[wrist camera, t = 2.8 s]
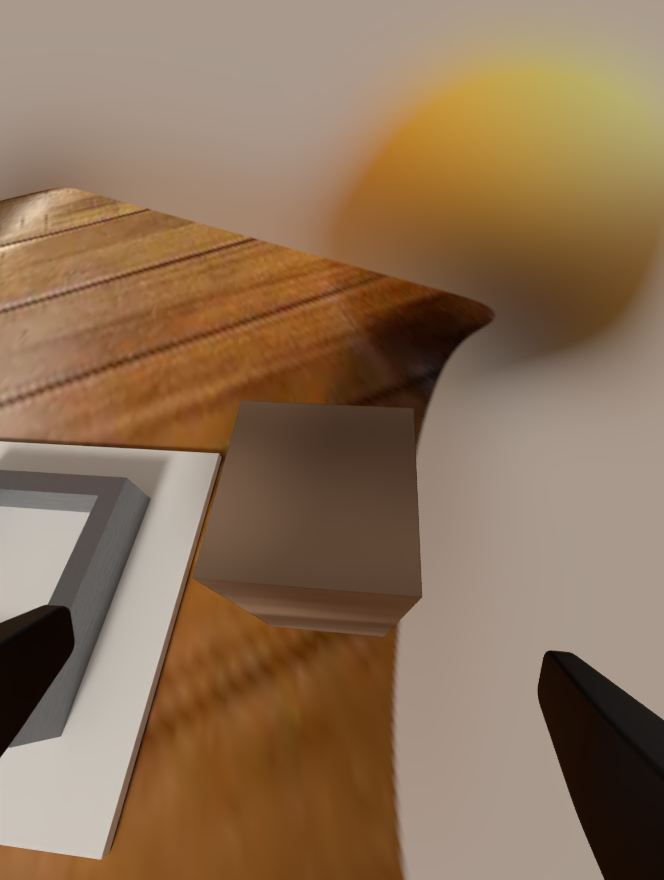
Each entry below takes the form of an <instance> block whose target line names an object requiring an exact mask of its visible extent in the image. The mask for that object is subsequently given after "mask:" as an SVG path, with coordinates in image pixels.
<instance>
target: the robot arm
mask: <svg viewBox="0 0 664 880" xmlns="http://www.w3.org/2000/svg"><path fill="white" fill-rule="evenodd" d="M74 646H75V636H74V629H73V622H72V616H71V611H70V609H69V608H68V607H66V606H63V605H52V604H47V605H43V606H40V607H38V608H35V609H33V610H30V611H28V612H25V613H23V614H21V615H18V616H16V617H13V618H11V619H8V620H6V621H3V622H1V623H0V758H1V756H2V755H3V754H4V752H5V751H6V750H7V748H8V747H9V746H10V744H11V743H12V742H13V740H14V739H15V737H16V736H17V734H18V733H19V732H20V730H21V729H22V727H23V726H24V724H25V723H26V721H27V720H28V718H29V717H30V715H31V714H32V712H33V711H34V709H35V708H36V706H37V705H38V703H39V702H40V701H41V699H42V698H43V696H44V695H45V693H46V692H47V690H48V689H49V687H50V686H51V684H52V683H53V681H54V680H55V678H56V677H57V675H58V674H59V672H60V671H61V669H62V668H63V666H64V665H65V663H66V662H67V660H68V659H69V657H70V656H71V654H72V652H73V649H74ZM538 699H539V703H540V707H541V710H542V713H543V716H544V718H545V722H546V724H547V727H548V730H549V733H550V736H551V739H552V742H553V745H554V748H555V751H556V754H557V757H558V760H559V763H560V766H561V769H562V772H563V775H564V778H565V781H566V784H567V787H568V790H569V793H570V796H571V799H572V802H573V804H574V807H575V810H576V813H577V815H578V818H579V820H580V823H581V825H582V828H583V830H584V832H585V835H586V837H587V840H588V842H589V844H590V847H591V849H592V851H593V854H594V856H595V858H596V861H597V863H598V866H599V868H600V870H601V873H602V875H603V877H604V880H664V720H663V719H662V718H660V717H659V716H657V715H656V714H655V713H653V712H652V711H651V710H649V709H648V708H647V707H645V706H644V705H643V704H641V703H640V702H638V701H637V700H636V699H634V698H633V697H632V696H630V695H629V694H628V693H626V692H625V691H624V690H622V689H621V688H619V687H618V686H617V685H615V684H614V683H613V682H611V681H610V680H609V679H607V678H606V677H605V676H603V675H602V674H600V673H599V672H598V671H596V670H595V669H594V668H592V667H591V666H590V665H588V664H587V663H585V662H584V661H583V660H581V659H580V658H579V657H577V656H576V655H574V654H573V653H570V652H562V651H547V652H546V653H545V655H544V657H543V662H542V667H541V673H540V678H539V683H538Z"/></svg>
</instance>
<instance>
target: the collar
mask: <svg viewBox="0 0 664 880" xmlns="http://www.w3.org/2000/svg"><path fill="white" fill-rule="evenodd" d="M150 500H151V498H150V497H148V496H147V495H146V494H145V493H144V492H143V491H142V490H140V489H139V488H138V487H137V486H136V485H135V484H134V483H132V482H131V481H130V480H129V479H128V478H125V477H109V476H93V475H77V474H60V473H44V472H28V471H12V470H0V506H3V507H17V508H31V509H46V510H60V511H74V512H89V513H90V514H89V517H88V519H87V521H86V523H85V525H84V527H83V529H82V532H81V534H80V536H79V538H78V540H77V542H76V545H75V547H74V549H73V551H72V553H71V555H70V557H69V560H68V562H67V564H66V566H65V568H64V570H63V573H62V575H61V577H60V579H59V581H58V583H57V585H56V588H55V590H54V592H53V594H52V596H51V598H50V601H49V603H48V604H52V605H63V606H66V607H68V608H69V609H70V611H71V616H72V622H73V629H74V636H75V646H74V649H73V652H72V654H71V656H70V657H69V659H68V660H67V662H66V663H65V665H64V666H63V668H62V669H61V671H60V672H59V674H58V675H57V677H56V678H55V680H54V681H53V683H52V684H51V686H50V687H49V689H48V690H47V692H46V693H45V695H44V696H43V698H42V699H41V701H40V702H39V703H38V705H37V706H36V708H35V709H34V711H33V712H32V714H31V715H30V717H29V718H28V720H27V721H26V723H25V724H24V726H23V727H22V729H21V730H20V732H19V733H18V734H17V736H16V737H15V739H14V740H13V742H12V743H11V744H10V746H9V748H12V747H16V746H21V745H25V744H30V743H34V742H39V741H43V740H48V739H52V738H57V737H61V735H62V732H63V729H64V727H65V724H66V722H67V719H68V716H69V714H70V711H71V708H72V706H73V703H74V700H75V698H76V695H77V692H78V690H79V687H80V685H81V682H82V679H83V677H84V674H85V671H86V669H87V666H88V663H89V661H90V658H91V655H92V653H93V650H94V648H95V645H96V642H97V640H98V637H99V634H100V632H101V629H102V626H103V624H104V621H105V618H106V616H107V613H108V611H109V608H110V605H111V603H112V600H113V597H114V595H115V592H116V589H117V587H118V584H119V581H120V579H121V576H122V574H123V571H124V568H125V566H126V563H127V560H128V558H129V555H130V552H131V550H132V547H133V544H134V542H135V539H136V537H137V534H138V531H139V529H140V526H141V523H142V521H143V518H144V515H145V513H146V510H147V507H148V505H149V502H150Z"/></svg>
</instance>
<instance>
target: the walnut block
mask: <svg viewBox="0 0 664 880" xmlns="http://www.w3.org/2000/svg"><path fill="white" fill-rule="evenodd" d="M192 578H193V579H195V580H197V581H198V582H200V583H201V584H203V585H205V586H206V587H208V588H210V589H211V590H213V591H215V592H216V593H218V594H220V595H221V596H223V597H224V598H226V599H228V600H229V601H231V602H233V603H234V604H236V605H238V606H239V607H241V608H242V609H244V610H246V611H247V612H249V613H251V614H252V615H254V616H256V617H257V618H259V619H261V620H262V621H264V622H265V623H267V624H269V625H270V626H272V627H281V628H292V629H303V630H314V631H325V632H336V633H346V634H357V635H368V636H379V637H384V636H385V635H386V634H387V633H388V632H389V631H390V630H391V629H392V628H393V627H394V626H395V625H396V624H397V623H398V622H399V620H400V619H401V618H402V617H403V616H404V615H405V614H406V613H407V612H408V611H409V610H410V609H411V608H412V607H413V606H414V605H415V604H416V603H417V602H418V601H419V600H420V599H421V598H422V583H421V561H420V538H419V516H418V493H417V471H416V449H415V427H414V408H397V407H374V406H351V405H328V404H305V403H282V402H259V401H241V405H240V408H239V412H238V416H237V419H236V423H235V426H234V430H233V434H232V437H231V441H230V444H229V448H228V452H227V455H226V459H225V462H224V466H223V470H222V473H221V477H220V480H219V484H218V488H217V491H216V495H215V498H214V502H213V506H212V509H211V513H210V516H209V520H208V524H207V527H206V531H205V534H204V538H203V541H202V545H201V549H200V552H199V556H198V559H197V563H196V567H195V570H194V574H193V577H192Z"/></svg>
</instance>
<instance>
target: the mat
mask: <svg viewBox="0 0 664 880" xmlns="http://www.w3.org/2000/svg"><path fill="white" fill-rule="evenodd" d="M221 459H222V457H221V456H220V454H219V453H201V452H183V451H165V450H147V449H128V448H110V447H92V446H74V445H55V444H37V443H19V442H1V441H0V470H12V471H28V472H44V473H60V474H77V475H93V476H109V477H125V478H128V479H129V480H130V481H131V482H132V483H134V484H135V485H136V486H137V487H138V488H139V489H140V490H142V491H143V492H144V493H145V494H146V495H147V496H148V497H150V498H151V500H150V502H149V505H148V507H147V510H146V513H145V515H144V518H143V521H142V523H141V526H140V529H139V531H138V534H137V537H136V539H135V542H134V544H133V547H132V550H131V552H130V555H129V558H128V560H127V563H126V566H125V568H124V571H123V574H122V576H121V579H120V581H119V584H118V587H117V589H116V592H115V595H114V597H113V600H112V603H111V605H110V608H109V611H108V613H107V616H106V618H105V621H104V624H103V626H102V629H101V632H100V634H99V637H98V640H97V642H96V645H95V648H94V650H93V653H92V655H91V658H90V661H89V663H88V666H87V669H86V671H85V674H84V677H83V679H82V682H81V685H80V687H79V690H78V692H77V695H76V698H75V700H74V703H73V706H72V708H71V711H70V714H69V716H68V719H67V722H66V724H65V727H64V729H63V732H62V735H61V737H57V738H52V739H48V740H43V741H39V742H34V743H30V744H25V745H21V746H16V747H12V748H9V747H8V748H7V750H6V751H5V752H4V754H3V755H2V756H1V758H0V845H6V846H13V847H20V848H26V849H33V850H40V851H47V852H53V853H60V854H67V855H73V856H80V857H87V858H94V859H100V860H101V859H102V858H104V857H105V856H106V855H108V854H109V852H110V849H111V845H112V842H113V838H114V835H115V831H116V828H117V824H118V821H119V817H120V814H121V810H122V807H123V803H124V800H125V796H126V792H127V789H128V785H129V782H130V778H131V775H132V771H133V768H134V764H135V761H136V757H137V754H138V750H139V747H140V743H141V740H142V736H143V733H144V729H145V726H146V722H147V719H148V715H149V712H150V708H151V705H152V701H153V698H154V694H155V691H156V687H157V684H158V680H159V676H160V673H161V669H162V666H163V662H164V659H165V655H166V652H167V648H168V645H169V641H170V638H171V634H172V631H173V627H174V624H175V620H176V617H177V613H178V610H179V606H180V603H181V599H182V596H183V592H184V589H185V585H186V582H187V578H188V575H189V571H190V567H191V564H192V560H193V557H194V553H195V550H196V546H197V543H198V539H199V536H200V532H201V529H202V525H203V522H204V518H205V515H206V511H207V508H208V504H209V501H210V497H211V494H212V490H213V487H214V483H215V480H216V476H217V473H218V469H219V466H220V462H221ZM89 514H90V513H89V512H74V511H60V510H46V509H31V508H17V507H3V506H0V623H1V622H3V621H6V620H8V619H11V618H13V617H16V616H18V615H21V614H23V613H25V612H28V611H30V610H33V609H35V608H38V607H40V606H43V605H47V604H48V603H49V601H50V598H51V596H52V594H53V592H54V590H55V588H56V585H57V583H58V581H59V579H60V577H61V575H62V573H63V570H64V568H65V566H66V564H67V562H68V560H69V557H70V555H71V553H72V551H73V549H74V547H75V545H76V542H77V540H78V538H79V536H80V534H81V532H82V529H83V527H84V525H85V523H86V521H87V519H88V517H89Z"/></svg>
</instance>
